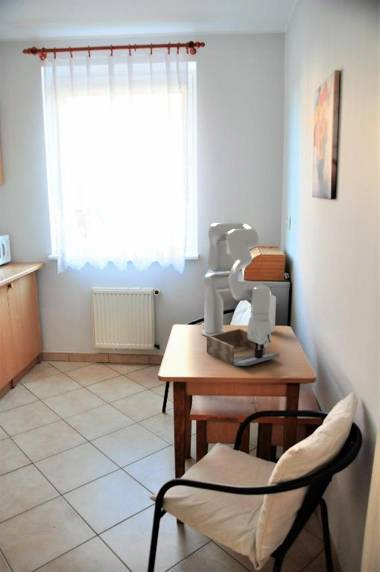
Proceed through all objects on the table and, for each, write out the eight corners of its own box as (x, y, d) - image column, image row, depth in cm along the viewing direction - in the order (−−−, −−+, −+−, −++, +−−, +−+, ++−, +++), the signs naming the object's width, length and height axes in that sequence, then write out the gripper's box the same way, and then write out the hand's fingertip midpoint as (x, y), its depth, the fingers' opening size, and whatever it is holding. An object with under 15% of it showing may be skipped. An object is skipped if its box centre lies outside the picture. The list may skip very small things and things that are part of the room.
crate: (206, 352, 210) (206, 335, 208) (238, 344, 220) (239, 328, 219) (231, 365, 195) (232, 347, 194) (264, 356, 206) (265, 339, 204)
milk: (264, 333, 239) (265, 291, 234) (259, 329, 244) (260, 288, 240) (274, 332, 240) (276, 290, 235) (269, 328, 246) (271, 288, 241)
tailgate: (233, 362, 194) (245, 362, 188) (266, 353, 204) (278, 353, 198) (234, 365, 194) (246, 365, 188) (267, 356, 204) (279, 356, 198)
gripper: (241, 313, 195) (240, 354, 199) (265, 321, 183) (264, 365, 187) (254, 310, 199) (253, 350, 203) (279, 318, 187) (277, 361, 191)
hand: (258, 357), depth 195 cm, fingers closed
